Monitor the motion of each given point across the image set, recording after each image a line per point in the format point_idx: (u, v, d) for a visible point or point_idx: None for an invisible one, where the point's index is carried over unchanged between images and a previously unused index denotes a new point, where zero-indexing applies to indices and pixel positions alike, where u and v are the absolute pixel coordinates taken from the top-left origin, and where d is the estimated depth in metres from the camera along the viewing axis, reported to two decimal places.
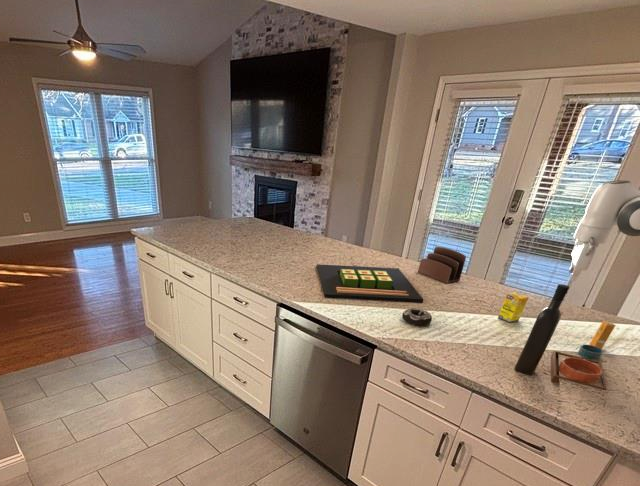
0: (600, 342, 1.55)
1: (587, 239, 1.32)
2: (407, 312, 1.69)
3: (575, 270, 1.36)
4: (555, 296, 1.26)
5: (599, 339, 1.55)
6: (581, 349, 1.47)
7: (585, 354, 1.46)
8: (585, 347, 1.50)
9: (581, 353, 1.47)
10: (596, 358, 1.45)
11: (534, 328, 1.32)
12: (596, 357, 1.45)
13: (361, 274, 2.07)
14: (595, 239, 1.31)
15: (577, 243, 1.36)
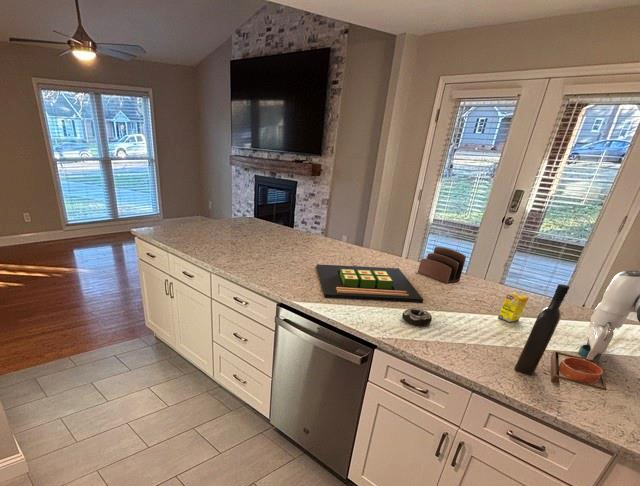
0: None
1: (604, 323, 1.38)
2: (407, 312, 1.69)
3: (592, 351, 1.41)
4: (555, 296, 1.26)
5: None
6: (581, 349, 1.47)
7: (585, 354, 1.46)
8: (585, 347, 1.50)
9: (581, 353, 1.47)
10: (596, 358, 1.45)
11: (534, 328, 1.32)
12: (596, 357, 1.45)
13: (361, 274, 2.07)
14: (612, 324, 1.37)
15: (594, 325, 1.42)
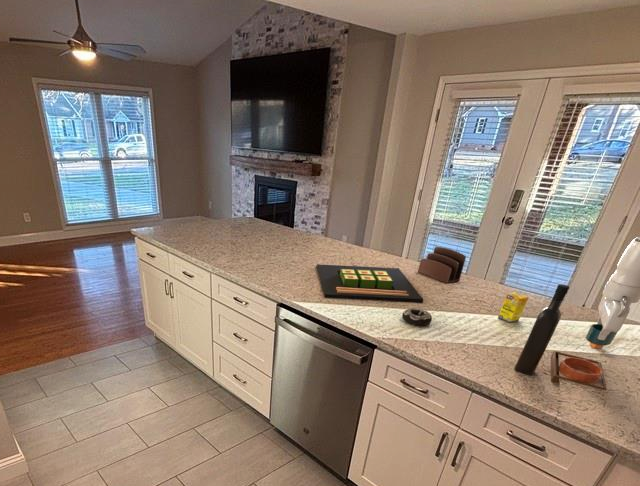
0: None
1: (619, 298, 1.19)
2: (407, 312, 1.69)
3: (604, 329, 1.23)
4: (555, 296, 1.26)
5: None
6: (592, 329, 1.28)
7: (596, 334, 1.27)
8: (596, 327, 1.31)
9: (592, 334, 1.28)
10: (609, 339, 1.26)
11: (534, 328, 1.32)
12: (609, 338, 1.26)
13: (361, 274, 2.07)
14: (628, 298, 1.18)
15: (607, 300, 1.23)
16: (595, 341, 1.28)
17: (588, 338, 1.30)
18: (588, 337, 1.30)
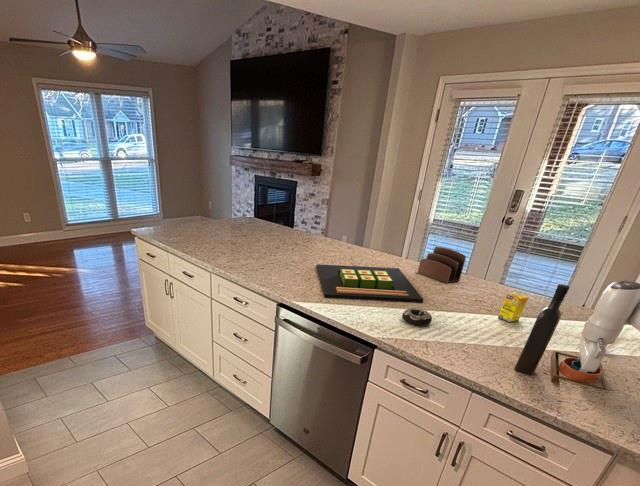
0: None
1: (596, 339, 1.26)
2: (407, 312, 1.69)
3: (583, 368, 1.30)
4: (555, 296, 1.26)
5: None
6: (572, 366, 1.35)
7: None
8: (576, 363, 1.38)
9: None
10: None
11: (534, 328, 1.32)
12: None
13: (361, 274, 2.07)
14: (604, 340, 1.25)
15: (585, 340, 1.30)
16: None
17: None
18: None
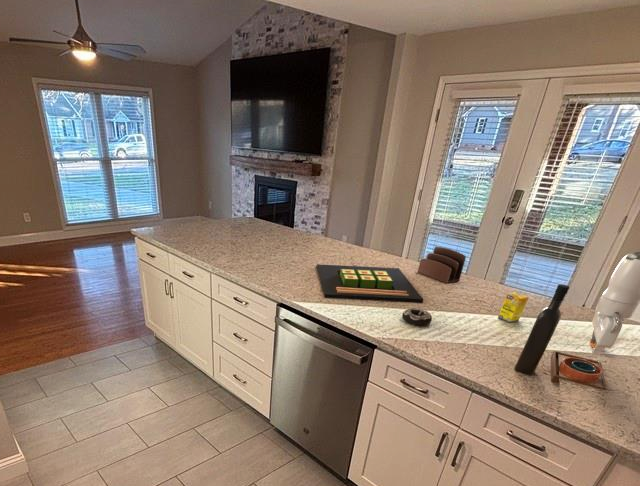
0: None
1: (611, 314, 1.21)
2: (407, 312, 1.69)
3: (598, 345, 1.25)
4: (555, 296, 1.26)
5: None
6: (572, 366, 1.35)
7: None
8: (576, 363, 1.38)
9: None
10: None
11: (534, 328, 1.32)
12: None
13: (361, 274, 2.07)
14: (620, 314, 1.20)
15: (600, 316, 1.25)
16: None
17: None
18: None
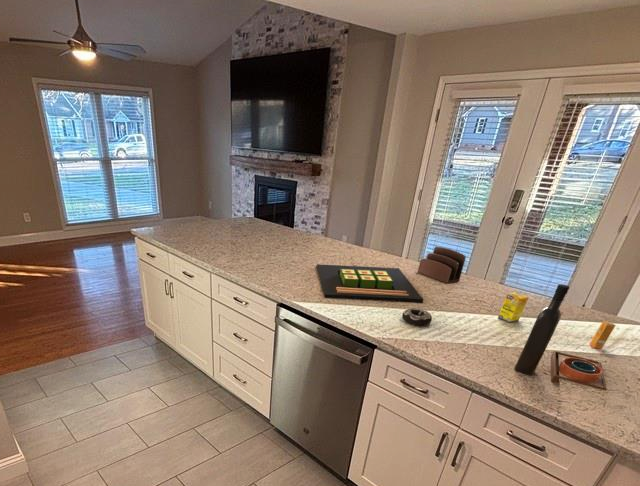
0: (600, 342, 1.55)
1: None
2: (407, 312, 1.69)
3: None
4: (555, 296, 1.26)
5: (599, 339, 1.55)
6: (572, 366, 1.35)
7: None
8: (576, 363, 1.38)
9: None
10: None
11: (534, 328, 1.32)
12: None
13: (361, 274, 2.07)
14: None
15: None
16: None
17: None
18: None
